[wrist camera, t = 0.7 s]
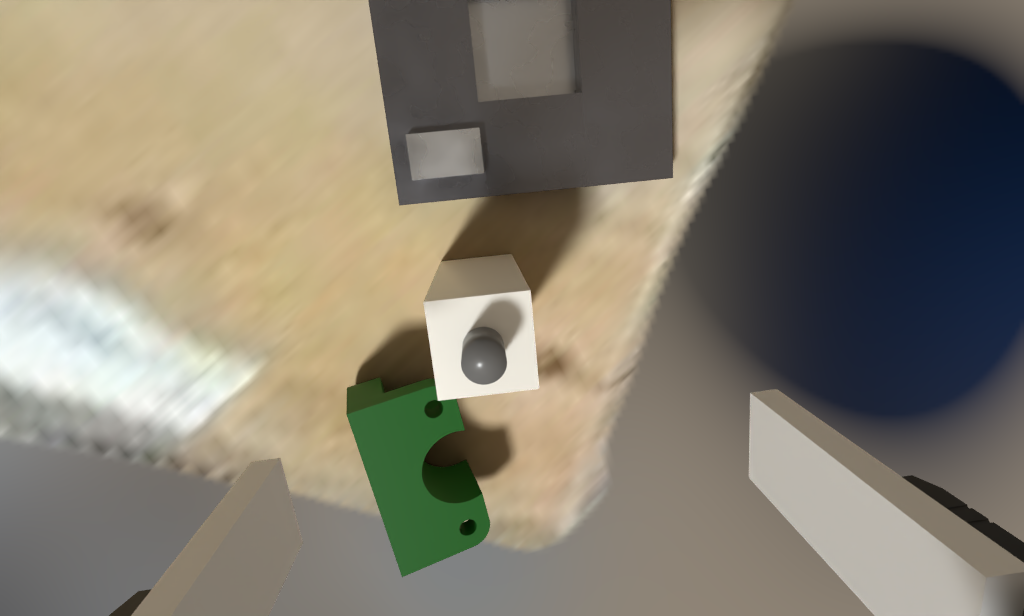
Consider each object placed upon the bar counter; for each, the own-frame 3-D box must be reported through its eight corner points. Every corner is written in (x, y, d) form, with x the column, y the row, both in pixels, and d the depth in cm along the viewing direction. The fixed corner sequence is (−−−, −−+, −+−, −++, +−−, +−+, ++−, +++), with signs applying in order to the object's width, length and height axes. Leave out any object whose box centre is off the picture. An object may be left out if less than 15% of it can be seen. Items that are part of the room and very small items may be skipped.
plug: (440, 261, 31) (418, 314, 19) (511, 253, 31) (536, 301, 19) (450, 329, 32) (434, 422, 20) (518, 321, 32) (545, 408, 20)
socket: (358, -104, 26) (345, -136, 23) (654, -125, 27) (674, -158, 24) (404, 203, 30) (397, 205, 27) (660, 178, 31) (677, 177, 28)
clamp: (457, 447, 39) (496, 551, 32) (383, 475, 38) (408, 590, 31) (431, 333, 32) (474, 435, 25) (337, 361, 31) (356, 478, 24)
